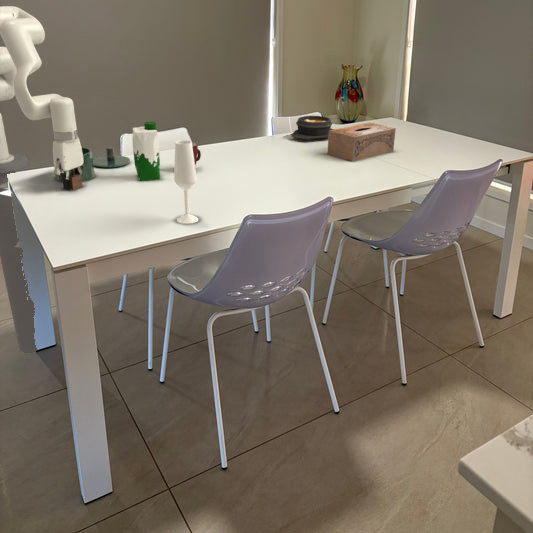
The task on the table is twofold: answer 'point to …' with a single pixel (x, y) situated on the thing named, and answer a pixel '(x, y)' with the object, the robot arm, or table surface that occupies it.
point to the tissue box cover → (361, 141)
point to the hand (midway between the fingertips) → (73, 186)
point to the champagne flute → (185, 175)
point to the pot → (88, 167)
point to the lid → (111, 159)
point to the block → (75, 181)
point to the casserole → (312, 127)
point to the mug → (196, 152)
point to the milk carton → (146, 152)
